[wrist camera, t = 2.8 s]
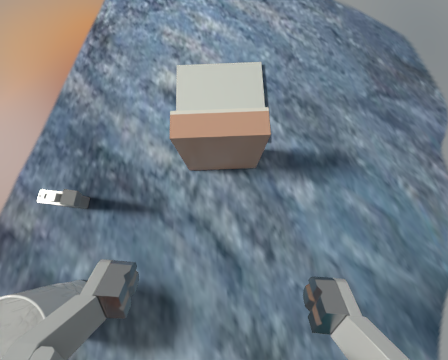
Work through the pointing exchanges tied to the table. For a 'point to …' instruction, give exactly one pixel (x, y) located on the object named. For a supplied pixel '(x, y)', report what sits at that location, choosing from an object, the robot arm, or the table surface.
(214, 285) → the table surface
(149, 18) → the table surface
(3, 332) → the white cup
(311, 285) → the robot arm
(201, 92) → the mat
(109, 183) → the table surface
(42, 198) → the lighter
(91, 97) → the table surface
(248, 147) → the tile
